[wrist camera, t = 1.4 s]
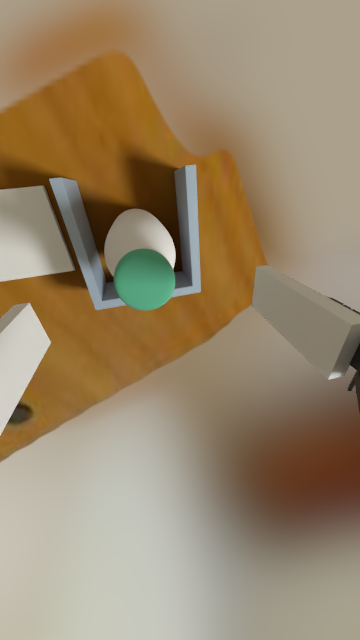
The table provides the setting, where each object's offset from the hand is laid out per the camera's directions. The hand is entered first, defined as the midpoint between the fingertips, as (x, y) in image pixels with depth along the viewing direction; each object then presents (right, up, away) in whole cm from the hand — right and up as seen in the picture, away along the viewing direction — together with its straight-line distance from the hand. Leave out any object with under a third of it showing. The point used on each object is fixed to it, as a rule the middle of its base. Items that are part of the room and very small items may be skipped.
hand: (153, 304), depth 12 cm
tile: (-21, +11, +16) cm, 28 cm away
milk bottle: (-5, +12, +20) cm, 24 cm away
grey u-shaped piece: (-5, +12, +19) cm, 23 cm away
